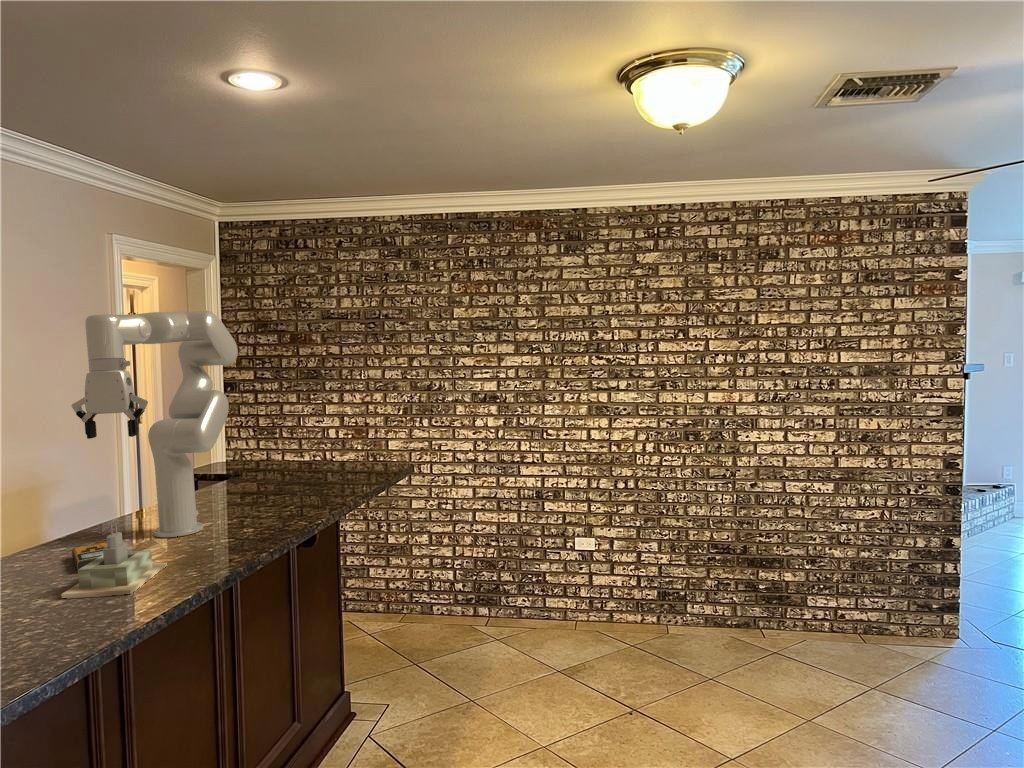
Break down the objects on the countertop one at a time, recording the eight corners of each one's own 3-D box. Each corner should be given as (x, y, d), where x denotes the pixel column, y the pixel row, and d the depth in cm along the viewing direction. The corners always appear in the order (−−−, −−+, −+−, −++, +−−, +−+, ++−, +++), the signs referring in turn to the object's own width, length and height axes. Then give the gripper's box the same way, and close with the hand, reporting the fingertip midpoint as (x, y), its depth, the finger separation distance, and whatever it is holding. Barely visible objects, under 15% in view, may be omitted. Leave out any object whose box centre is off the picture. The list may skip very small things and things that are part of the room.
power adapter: (130, 572, 159) (126, 520, 159) (118, 581, 154) (114, 526, 153) (116, 573, 159) (112, 521, 158) (104, 581, 154) (99, 527, 153)
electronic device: (109, 553, 181) (109, 540, 181) (118, 567, 168) (117, 554, 168) (71, 560, 176) (70, 547, 176) (77, 575, 163) (76, 561, 163)
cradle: (105, 570, 165) (104, 549, 165) (167, 566, 166) (165, 545, 166) (61, 598, 147) (59, 575, 147) (131, 594, 148) (129, 571, 148)
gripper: (150, 364, 174) (156, 433, 175) (78, 367, 173) (84, 436, 174) (136, 365, 167) (142, 437, 168) (60, 368, 166) (66, 441, 167)
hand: (112, 436), depth 171 cm, fingers open, 9 cm apart
